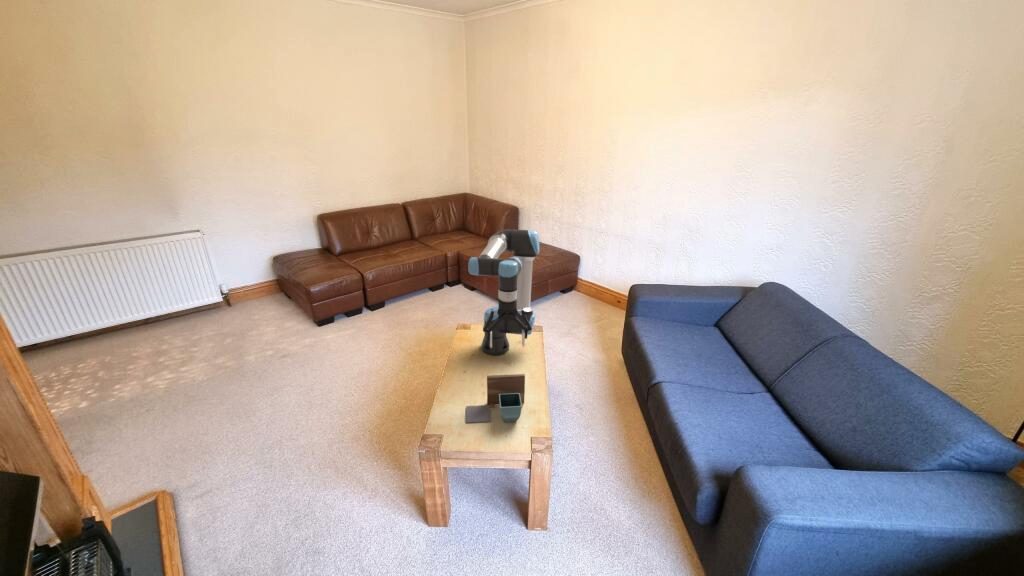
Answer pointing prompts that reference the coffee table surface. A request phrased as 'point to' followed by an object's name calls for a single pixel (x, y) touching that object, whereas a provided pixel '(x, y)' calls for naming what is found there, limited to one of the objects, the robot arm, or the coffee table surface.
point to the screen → (504, 387)
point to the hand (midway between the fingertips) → (507, 345)
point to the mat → (478, 414)
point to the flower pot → (510, 406)
